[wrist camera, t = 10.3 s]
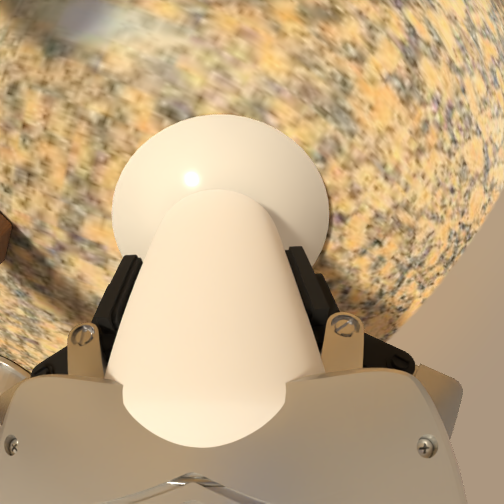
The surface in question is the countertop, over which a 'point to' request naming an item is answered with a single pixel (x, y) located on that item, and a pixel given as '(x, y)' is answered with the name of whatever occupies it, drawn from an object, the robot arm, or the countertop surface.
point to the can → (212, 326)
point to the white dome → (221, 180)
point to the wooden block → (4, 236)
